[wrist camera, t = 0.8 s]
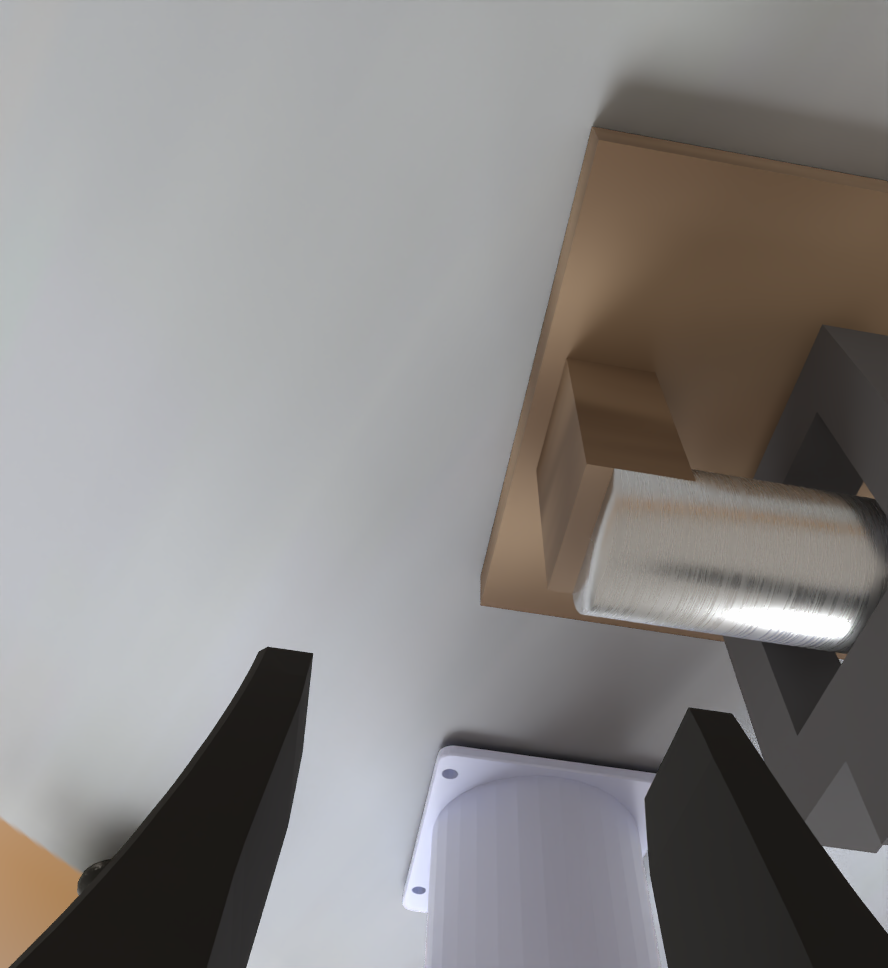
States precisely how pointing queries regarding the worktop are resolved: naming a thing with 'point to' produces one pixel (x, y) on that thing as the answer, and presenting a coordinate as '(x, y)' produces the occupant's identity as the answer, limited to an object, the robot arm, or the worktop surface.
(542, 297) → the worktop surface
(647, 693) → the worktop surface
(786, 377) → the pipe stand
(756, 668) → the grey pipe bracket
